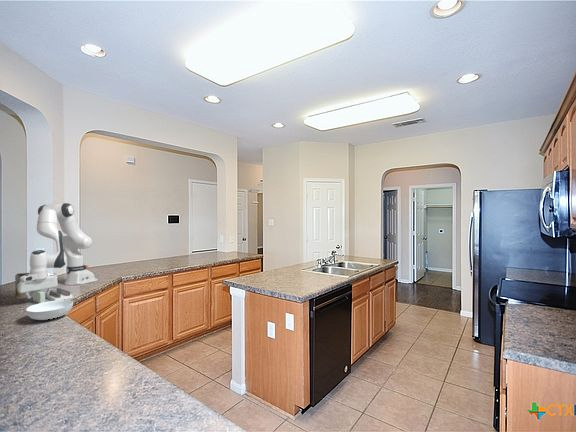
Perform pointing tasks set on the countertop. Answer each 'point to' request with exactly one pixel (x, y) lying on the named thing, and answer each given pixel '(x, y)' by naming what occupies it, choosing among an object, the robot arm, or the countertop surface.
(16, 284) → the coffee box
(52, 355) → the countertop surface
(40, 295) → the door panel
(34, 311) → the serving bowl
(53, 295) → the floor track
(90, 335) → the countertop surface
